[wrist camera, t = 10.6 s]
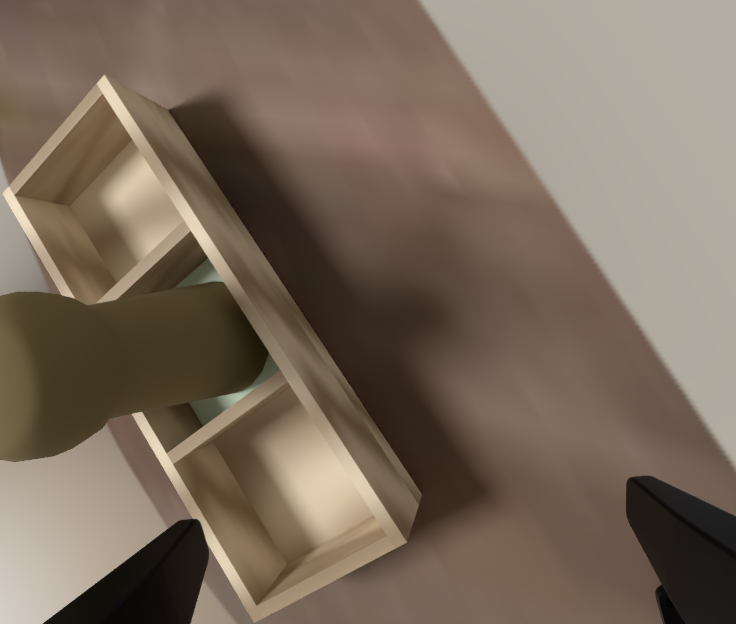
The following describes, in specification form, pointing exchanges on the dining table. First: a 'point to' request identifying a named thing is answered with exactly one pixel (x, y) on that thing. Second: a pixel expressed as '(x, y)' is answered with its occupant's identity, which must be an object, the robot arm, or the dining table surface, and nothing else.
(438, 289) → the dining table surface
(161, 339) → the cork
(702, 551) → the robot arm
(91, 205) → the wooden compartment tray
